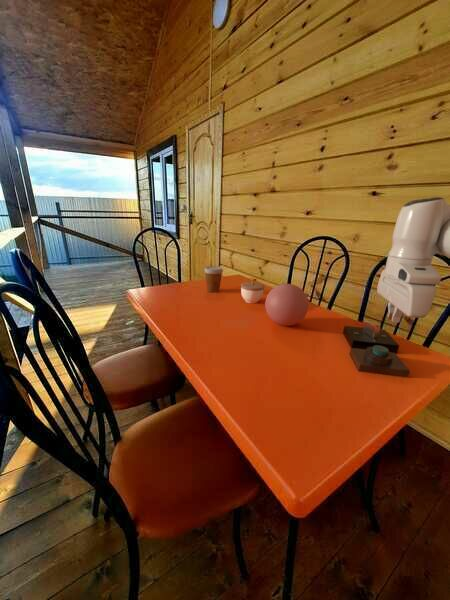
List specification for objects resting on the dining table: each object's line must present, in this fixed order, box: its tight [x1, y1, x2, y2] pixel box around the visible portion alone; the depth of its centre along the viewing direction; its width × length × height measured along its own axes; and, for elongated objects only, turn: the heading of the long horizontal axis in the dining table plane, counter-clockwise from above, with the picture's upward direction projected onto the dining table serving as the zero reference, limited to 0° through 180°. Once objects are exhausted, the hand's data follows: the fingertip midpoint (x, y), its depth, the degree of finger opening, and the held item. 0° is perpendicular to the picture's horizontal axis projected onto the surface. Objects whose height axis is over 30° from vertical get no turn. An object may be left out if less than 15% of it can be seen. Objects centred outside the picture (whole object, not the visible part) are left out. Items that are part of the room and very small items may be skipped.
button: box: [372, 345, 388, 357], centre depth 70 cm, size 4×4×2 cm
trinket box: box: [240, 280, 265, 304], centre depth 117 cm, size 11×11×9 cm
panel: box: [342, 325, 400, 355], centre depth 83 cm, size 13×11×3 cm
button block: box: [349, 347, 411, 379], centre depth 70 cm, size 12×9×4 cm
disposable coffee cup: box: [203, 265, 224, 293], centre depth 131 cm, size 10×10×12 cm
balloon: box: [264, 283, 310, 327], centre depth 94 cm, size 15×20×15 cm
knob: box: [362, 319, 381, 339], centre depth 82 cm, size 6×2×4 cm, turn 4°
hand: (393, 320), depth 67 cm, fingers closed
